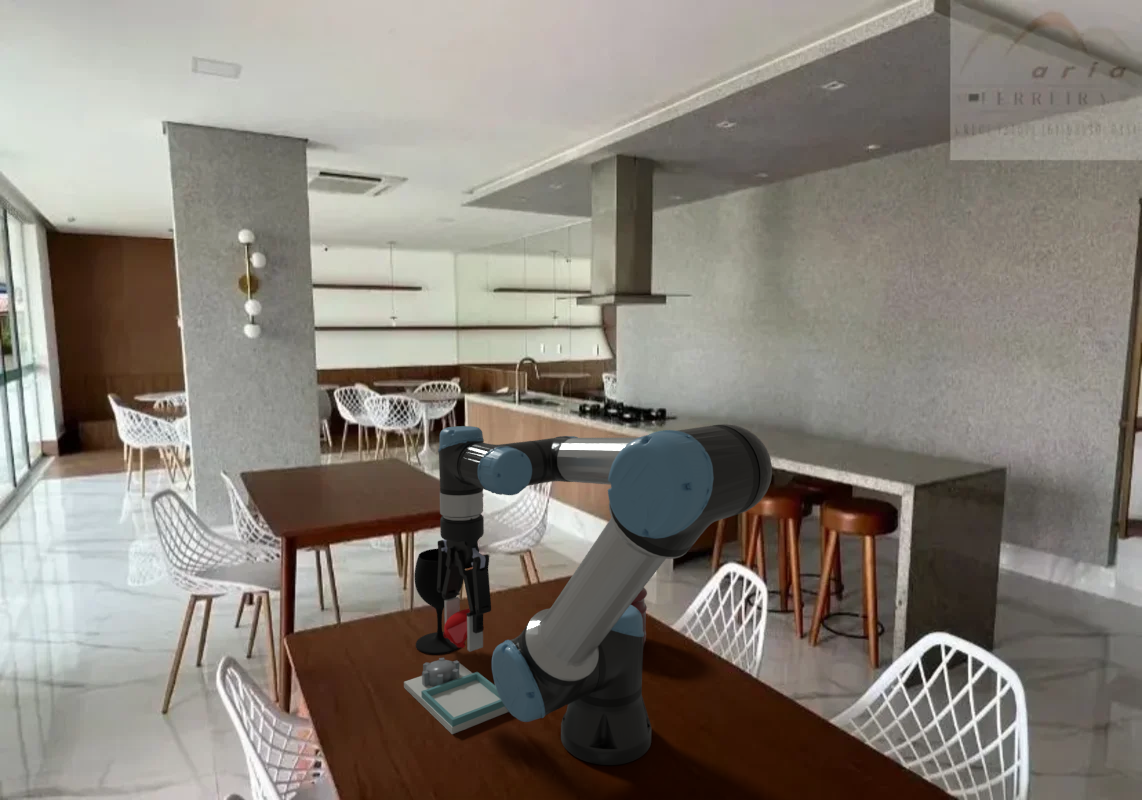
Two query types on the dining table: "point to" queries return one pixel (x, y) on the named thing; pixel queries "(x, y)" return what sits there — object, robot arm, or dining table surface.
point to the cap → (457, 628)
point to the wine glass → (432, 602)
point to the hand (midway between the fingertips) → (463, 640)
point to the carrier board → (455, 695)
